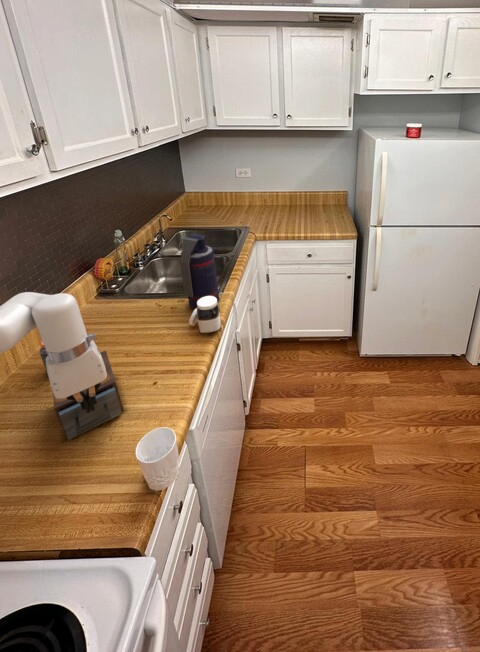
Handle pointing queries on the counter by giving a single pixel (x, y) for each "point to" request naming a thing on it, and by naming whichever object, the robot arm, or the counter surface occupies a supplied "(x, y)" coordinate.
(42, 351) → the pill bottle
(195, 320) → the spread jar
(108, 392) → the drawer
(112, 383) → the cabinet
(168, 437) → the white cup
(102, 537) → the counter surface
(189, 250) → the navy water bottle
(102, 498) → the counter surface
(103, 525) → the counter surface
